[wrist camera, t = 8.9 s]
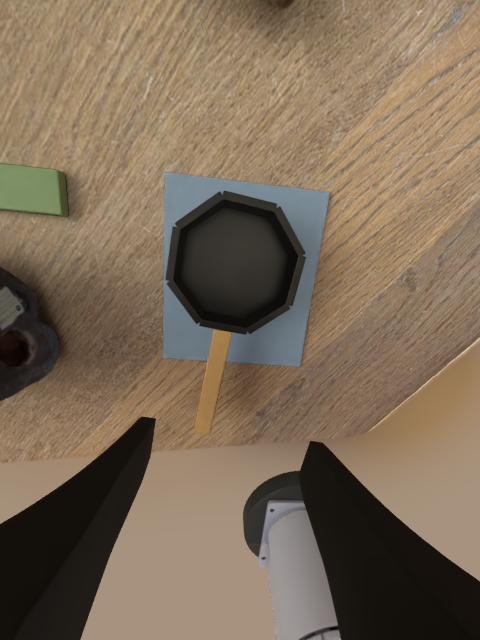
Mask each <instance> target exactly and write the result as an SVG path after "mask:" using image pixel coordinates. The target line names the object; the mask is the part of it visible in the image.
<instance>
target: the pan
mask: <svg viewBox="0 0 480 640" xmlns="http://www.w3.org/2000/svg"><path fill="white" fill-rule="evenodd" d="M175 225H176V226H177V227H174V226H173V227H172V234H171V242H170V249H169V256H168V264H167V271H166V278H165V279H166V280H167V281H169V282H167V285H168V287H169V288H170V289H171V291H172V292H173V293H174V295H175V296H176V297H177V299H178V300H179V302H180V303H181V304H182V306H183V307H184V308H185V310H186V311H187V312H188V314H189V315H190V316H191V318H192V319H193V321H194V322H195V323H196V324H198V323H199V322H200V324H199V326H201V327H206V328H212V329H214V330H213V335H212V340H211V345H210V350H209V355H208V360H207V365H206V370H205V376H204V381H203V386H202V391H201V396H200V401H199V406H198V411H197V416H196V421H195V427H194V433H200V434H207V435H209V434H210V432H211V427H212V422H213V418H214V413H215V409H216V404H217V400H218V395H219V390H220V386H221V381H222V377H223V372H224V368H225V363H226V358H227V354H228V349H229V345H230V340H231V336H232V332H233V333H238V334H243V335H247V331H248V333H249V334H251V333H253V332H254V331H256V330H258V329H259V328H261V327H262V326H264V325H266V324H267V323H269V322H270V321H272V320H274V319H275V318H277V317H278V316H280V315H282V314H283V313H285V312H286V311H288V310H290V307H289V306H293V303H294V300H295V296H296V292H297V289H298V285H299V282H300V278H301V274H302V271H303V267H304V264H305V260H306V257H305V256H303V255H305V254H306V253H305V251H304V249H303V247H302V245H301V243H300V241H299V240H298V238H297V236H296V234H295V232H294V230H293V228H292V227H291V225H290V223H289V221H288V219H287V217H286V216H285V214H284V212H283V210H282V208H281V207H280V206H279V207H278V208H277V203H273V202H269V201H265V200H261V199H257V198H253V197H249V196H245V195H241V194H237V193H233V192H229V191H225V190H224V191H223V195H222V193H221V192H220V191H219V192H218V193H216V194H215V195H213V196H212V197H210V198H209V199H208V200H206V201H205V202H203V203H202V204H201V205H199V206H198V207H196V208H195V209H194V210H192V211H191V212H189V213H188V214H186V215H185V216H184V217H182V218H181V219H179V220H178V221H177V222H175Z"/></svg>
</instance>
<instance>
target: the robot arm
mask: <svg viewBox="0 0 480 640" xmlns="http://www.w3.org/2000/svg"><path fill="white" fill-rule="evenodd" d="M155 421H156V419H155V418H148V417H140V418H139V419H138V420H137V421H136V422H135V423H134V424H133V425H132V426H131V427H130V428H129V429H128V430H127V431H126V432H125V433H124V434H123V435H122V436H121V437H120V438H119V439H118V440H117V441H116V442H114V443H113V444H112V445H111V446H110V447H109V448H108V449H107V450H106V451H104V452H103V453H102V454H101V455H100V456H98V457H97V458H96V459H95V460H94V461H92V462H91V463H90V464H89V465H87V466H86V467H85V468H84V469H83V470H81V471H80V472H79V473H77V474H76V475H75V476H73V477H72V478H71V479H69V480H68V481H67V482H65V483H64V484H62V485H61V486H60V487H58V488H57V489H55V490H54V491H52V492H51V493H49V494H48V495H46V496H45V497H43V498H42V499H40V500H39V501H37V502H36V503H35V504H33V505H31V506H30V507H28V508H26V509H25V510H23V511H22V512H20V513H18V514H17V515H15V516H13V517H12V518H10V519H8V520H6V521H5V522H3V523H1V524H0V640H80V639H81V636H82V633H83V630H84V627H85V624H86V621H87V618H88V616H89V613H90V610H91V607H92V604H93V601H94V598H95V596H96V593H97V590H98V587H99V584H100V582H101V579H102V576H103V573H104V570H105V568H106V565H107V562H108V559H109V557H110V554H111V552H112V549H113V547H114V544H115V542H116V539H117V537H118V535H119V533H120V531H121V528H122V526H123V524H124V521H125V519H126V517H127V514H128V512H129V510H130V508H131V505H132V503H133V501H134V499H135V497H136V494H137V492H138V490H139V487H140V485H141V483H142V480H143V477H144V474H145V471H146V468H147V465H148V462H149V459H150V455H151V449H152V442H153V435H154V428H155ZM299 481H300V486H301V491H302V496H303V500H269V501H268V503H267V509H266V515H265V521H264V527H263V533H262V539H261V546H260V552H259V558H258V565H259V567H261V568H268V575H269V583H270V591H271V599H272V606H273V614H274V622H275V629H276V638H277V640H480V581H478V580H477V579H476V578H474V577H473V576H471V575H470V574H469V573H467V572H466V571H464V570H463V569H461V568H460V567H459V566H457V565H456V564H455V563H453V562H452V561H450V560H449V559H448V558H446V557H445V556H443V555H442V554H441V553H440V552H438V551H437V550H436V549H435V548H433V547H432V546H431V545H430V544H428V543H427V542H426V541H424V540H423V539H422V538H421V537H419V536H418V535H417V534H416V533H415V532H413V531H412V530H411V529H410V528H409V527H408V526H406V525H405V524H404V523H403V522H402V521H401V520H399V519H398V518H397V517H396V516H395V515H394V514H393V513H392V512H390V511H389V510H388V509H387V508H386V507H385V506H384V505H383V504H382V503H381V502H380V501H379V500H378V499H377V498H375V496H373V494H372V493H370V492H369V491H368V490H367V488H365V487H364V486H363V484H361V482H360V481H359V480H358V479H357V478H356V477H355V476H354V475H353V474H352V473H351V472H350V471H349V470H348V469H347V468H346V467H345V466H344V465H343V463H341V462H340V460H339V459H338V458H337V457H336V456H335V455H334V454H333V453H332V452H331V451H330V450H329V449H328V448H327V447H326V446H325V445H324V444H323V443H321V442H314V441H310V443H309V447H308V449H307V452H306V455H305V458H304V461H303V464H302V467H301V470H300V472H299Z"/></svg>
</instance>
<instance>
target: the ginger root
mask: <svg viewBox="0 0 480 640" xmlns="http://www.w3.org/2000/svg"><path fill="white" fill-rule="evenodd" d="M268 1H269V2H270V3H272V4H273V5H274V6H275V7H276V8H279V9H282V8H286V7H288V6H289V5H291V4H292V3H293V2H294V0H268Z"/></svg>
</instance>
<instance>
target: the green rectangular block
mask: <svg viewBox="0 0 480 640" xmlns="http://www.w3.org/2000/svg"><path fill="white" fill-rule="evenodd" d="M0 210H8V211H18V212H28V213H37V214H47V215H56V216H66V217H67V216H69V213H68V202H67V190H66V178H65V174H64V173H63V172H60V171H58V170H55V169H46V168H38V167H29V166H21V165H12V164H4V163H0Z"/></svg>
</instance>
